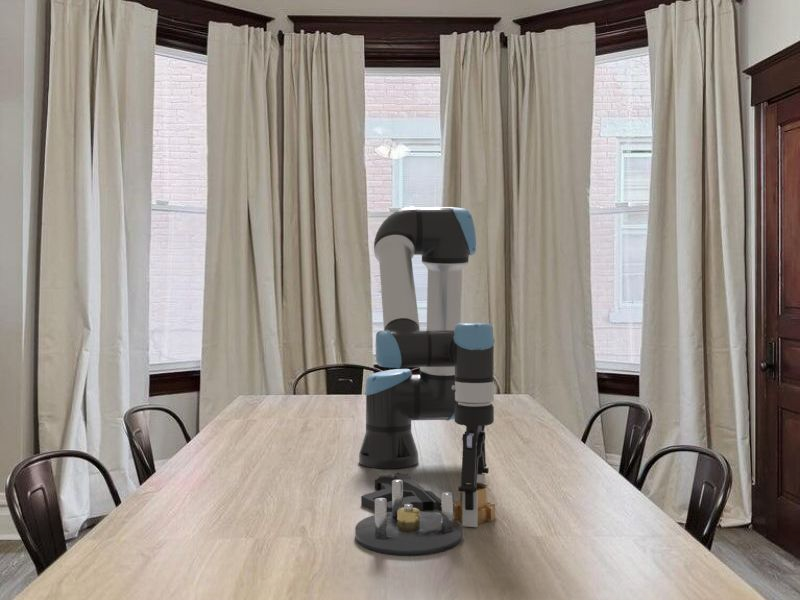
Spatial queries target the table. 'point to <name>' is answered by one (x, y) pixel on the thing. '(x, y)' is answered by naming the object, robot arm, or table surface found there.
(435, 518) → the carrier
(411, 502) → the pistol
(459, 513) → the planet gear
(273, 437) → the table surface
